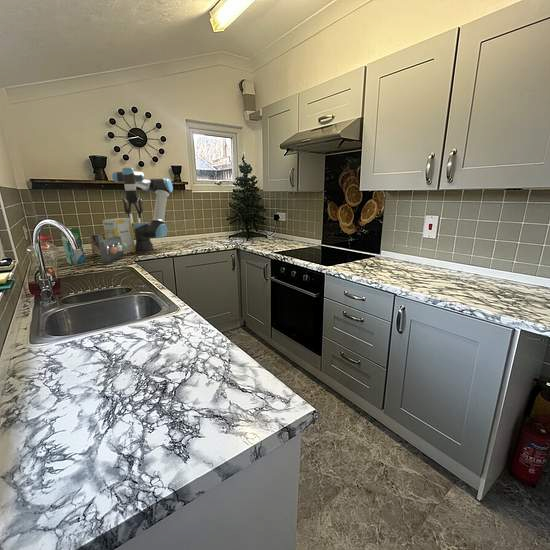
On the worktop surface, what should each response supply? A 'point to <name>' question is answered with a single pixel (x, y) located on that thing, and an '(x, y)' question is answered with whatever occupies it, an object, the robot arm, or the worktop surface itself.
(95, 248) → the coffee box
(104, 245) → the button panel
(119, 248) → the cream button
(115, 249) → the terracotta button
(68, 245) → the milk carton
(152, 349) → the worktop surface
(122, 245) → the sage green button
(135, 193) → the robot arm
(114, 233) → the pasta box
